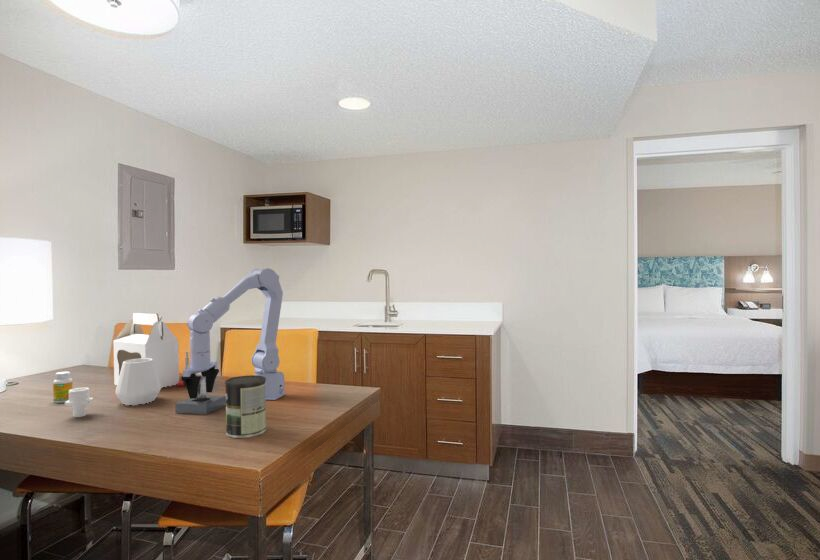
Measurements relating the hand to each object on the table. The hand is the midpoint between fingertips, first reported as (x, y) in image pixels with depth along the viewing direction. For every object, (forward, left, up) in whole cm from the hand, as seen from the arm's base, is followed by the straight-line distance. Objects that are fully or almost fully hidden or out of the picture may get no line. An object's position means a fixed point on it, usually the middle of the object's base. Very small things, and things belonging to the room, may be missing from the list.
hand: (201, 395), depth 151 cm
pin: (0, 0, -4) cm, 4 cm away
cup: (+27, -5, -5) cm, 28 cm away
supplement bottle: (+54, -2, -5) cm, 54 cm away
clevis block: (0, 0, -4) cm, 4 cm away
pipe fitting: (+33, +12, -5) cm, 35 cm away
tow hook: (+27, -32, -5) cm, 42 cm away
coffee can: (-26, +18, -5) cm, 32 cm away
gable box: (+43, -28, -5) cm, 52 cm away
